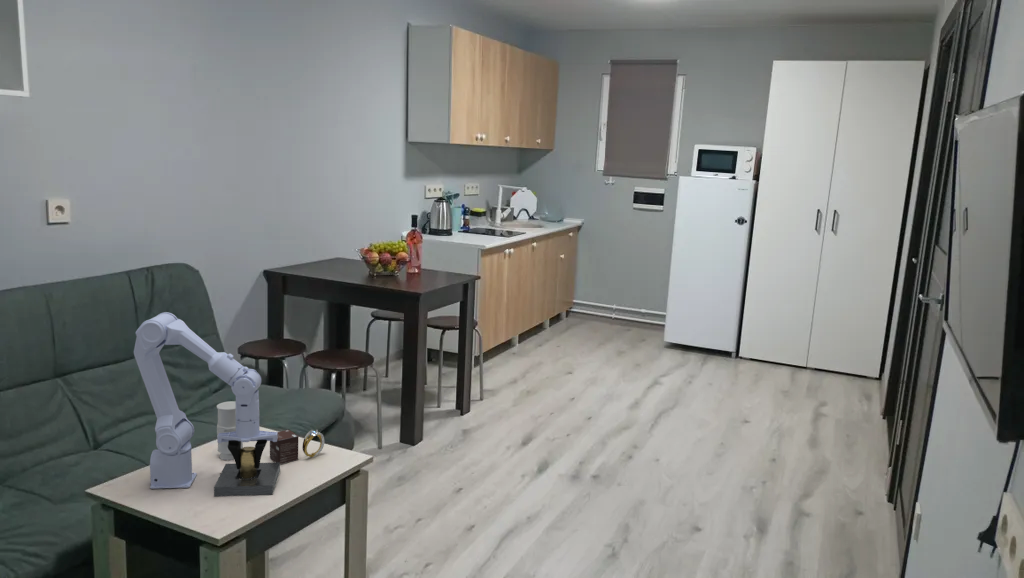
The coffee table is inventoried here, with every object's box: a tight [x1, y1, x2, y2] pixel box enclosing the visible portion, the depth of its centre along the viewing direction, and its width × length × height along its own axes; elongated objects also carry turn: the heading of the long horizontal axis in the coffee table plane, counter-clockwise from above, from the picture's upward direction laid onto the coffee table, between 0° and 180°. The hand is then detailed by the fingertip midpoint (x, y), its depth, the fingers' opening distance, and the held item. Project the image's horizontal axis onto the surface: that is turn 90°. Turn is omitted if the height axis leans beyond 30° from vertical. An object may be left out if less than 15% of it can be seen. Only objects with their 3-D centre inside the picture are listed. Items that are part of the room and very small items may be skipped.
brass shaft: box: [240, 446, 257, 479], centre depth 186 cm, size 4×4×7 cm
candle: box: [216, 400, 244, 461], centre depth 202 cm, size 7×7×15 cm
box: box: [269, 429, 300, 465], centre depth 202 cm, size 6×6×7 cm
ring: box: [302, 429, 325, 458], centre depth 205 cm, size 7×3×8 cm, turn 140°
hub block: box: [213, 461, 281, 497], centre depth 187 cm, size 14×14×2 cm
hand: (248, 467), depth 186 cm, fingers closed on brass shaft, 4 cm apart
